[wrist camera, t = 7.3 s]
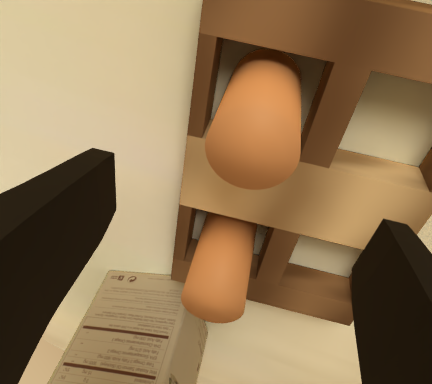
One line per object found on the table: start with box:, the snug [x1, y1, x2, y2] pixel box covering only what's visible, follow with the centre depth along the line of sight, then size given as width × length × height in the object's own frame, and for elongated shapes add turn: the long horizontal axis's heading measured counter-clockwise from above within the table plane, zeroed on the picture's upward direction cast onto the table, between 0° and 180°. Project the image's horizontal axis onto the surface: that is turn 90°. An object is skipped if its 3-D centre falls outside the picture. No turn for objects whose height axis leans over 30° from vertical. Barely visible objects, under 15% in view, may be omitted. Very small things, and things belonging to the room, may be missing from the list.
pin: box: [181, 212, 257, 323], centre depth 20 cm, size 3×3×6 cm
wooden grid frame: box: [171, 0, 432, 326], centre depth 19 cm, size 12×18×2 cm, turn 171°
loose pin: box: [205, 49, 301, 190], centre depth 14 cm, size 3×3×6 cm
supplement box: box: [47, 271, 208, 384], centre depth 25 cm, size 7×7×13 cm
